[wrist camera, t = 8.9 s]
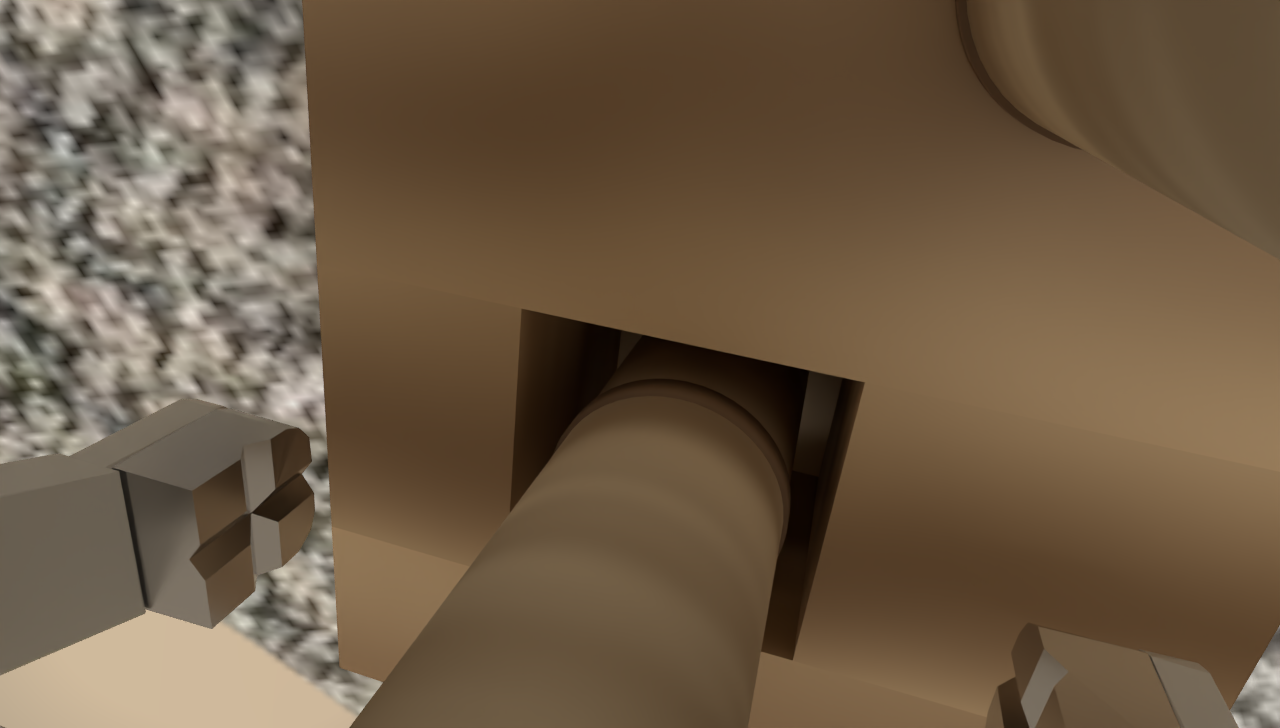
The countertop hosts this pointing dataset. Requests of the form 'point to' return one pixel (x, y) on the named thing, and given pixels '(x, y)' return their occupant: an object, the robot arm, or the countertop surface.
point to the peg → (623, 562)
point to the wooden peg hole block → (824, 309)
